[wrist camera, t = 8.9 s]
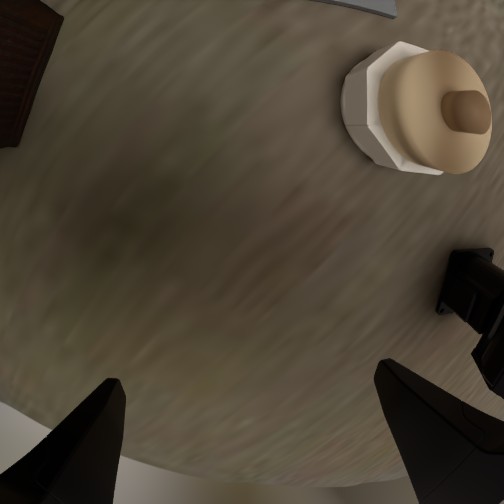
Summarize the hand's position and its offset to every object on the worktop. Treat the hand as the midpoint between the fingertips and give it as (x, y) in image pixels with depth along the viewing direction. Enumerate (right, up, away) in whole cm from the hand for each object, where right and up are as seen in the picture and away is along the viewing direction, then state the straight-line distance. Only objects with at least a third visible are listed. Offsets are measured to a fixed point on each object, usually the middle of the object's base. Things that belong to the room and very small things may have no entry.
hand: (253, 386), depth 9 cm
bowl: (+10, +14, +9) cm, 19 cm away
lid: (+10, +13, +5) cm, 17 cm away
